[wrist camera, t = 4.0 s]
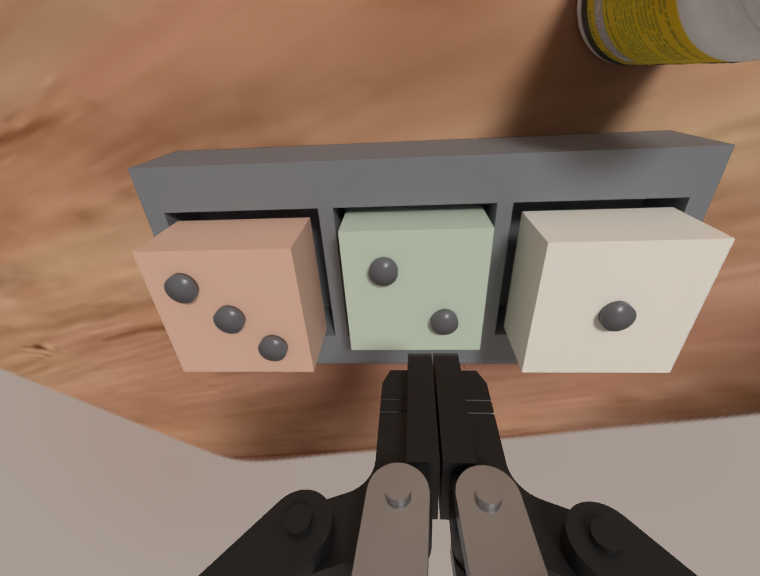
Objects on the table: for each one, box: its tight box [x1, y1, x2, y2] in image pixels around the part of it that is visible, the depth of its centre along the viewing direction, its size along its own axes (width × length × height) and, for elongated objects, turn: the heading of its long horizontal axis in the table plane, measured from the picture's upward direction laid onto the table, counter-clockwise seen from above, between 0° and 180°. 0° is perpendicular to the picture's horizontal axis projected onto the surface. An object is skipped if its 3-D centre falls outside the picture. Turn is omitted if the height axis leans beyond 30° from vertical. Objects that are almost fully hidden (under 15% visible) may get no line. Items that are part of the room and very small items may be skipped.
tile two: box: [338, 204, 494, 350], centre depth 16 cm, size 6×6×3 cm
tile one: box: [504, 207, 735, 373], centre depth 14 cm, size 6×6×3 cm
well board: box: [128, 130, 735, 363], centre depth 17 cm, size 22×10×4 cm, turn 93°
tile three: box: [132, 217, 327, 372], centre depth 15 cm, size 6×6×3 cm
